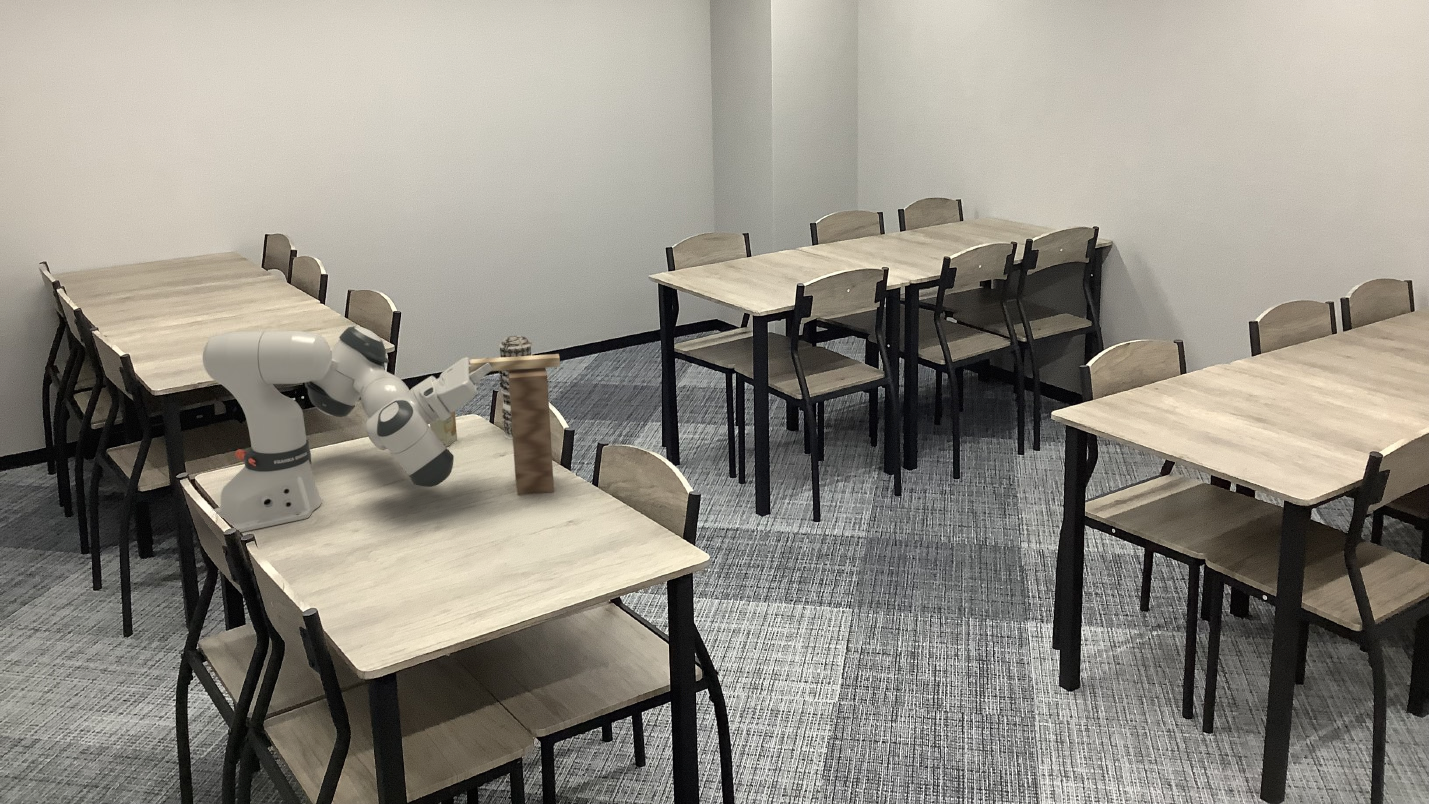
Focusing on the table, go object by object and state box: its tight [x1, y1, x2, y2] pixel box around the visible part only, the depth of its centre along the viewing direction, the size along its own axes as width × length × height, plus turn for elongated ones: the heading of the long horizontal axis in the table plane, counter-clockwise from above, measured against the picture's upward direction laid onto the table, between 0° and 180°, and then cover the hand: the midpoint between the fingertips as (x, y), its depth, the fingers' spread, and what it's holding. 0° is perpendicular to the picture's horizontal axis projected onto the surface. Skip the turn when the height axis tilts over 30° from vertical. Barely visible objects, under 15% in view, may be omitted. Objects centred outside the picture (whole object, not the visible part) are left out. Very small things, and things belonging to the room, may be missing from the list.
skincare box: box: [429, 411, 458, 448], centre depth 294 cm, size 6×4×12 cm
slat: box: [469, 353, 561, 372], centre depth 259 cm, size 19×3×2 cm, turn 101°
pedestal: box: [508, 367, 555, 496], centre depth 265 cm, size 8×10×27 cm
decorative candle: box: [498, 335, 533, 441], centre depth 297 cm, size 9×9×25 cm
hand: (490, 362), depth 258 cm, fingers closed on slat, 3 cm apart
